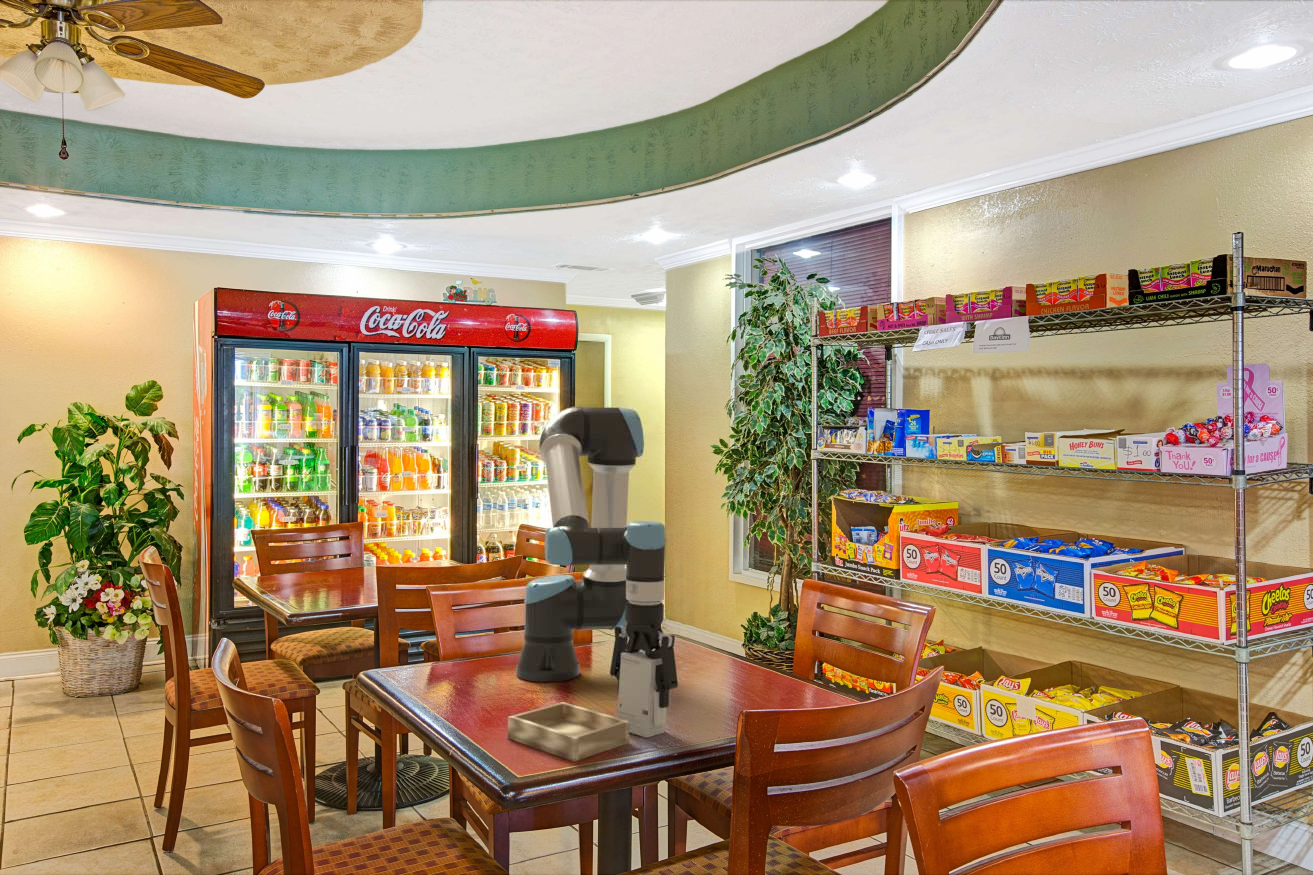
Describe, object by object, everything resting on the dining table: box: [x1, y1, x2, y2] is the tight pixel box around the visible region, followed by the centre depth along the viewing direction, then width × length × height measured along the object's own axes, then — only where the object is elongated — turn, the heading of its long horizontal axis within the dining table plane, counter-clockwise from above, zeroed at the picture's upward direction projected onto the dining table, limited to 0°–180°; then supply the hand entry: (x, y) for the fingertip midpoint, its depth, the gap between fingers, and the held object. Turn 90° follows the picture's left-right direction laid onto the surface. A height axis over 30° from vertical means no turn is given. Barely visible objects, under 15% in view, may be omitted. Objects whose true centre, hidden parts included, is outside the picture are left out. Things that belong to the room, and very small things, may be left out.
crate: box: [507, 701, 630, 763], centre depth 166 cm, size 18×14×4 cm
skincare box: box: [616, 650, 668, 739], centre depth 173 cm, size 8×6×15 cm
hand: (642, 718), depth 173 cm, fingers closed on skincare box, 8 cm apart
